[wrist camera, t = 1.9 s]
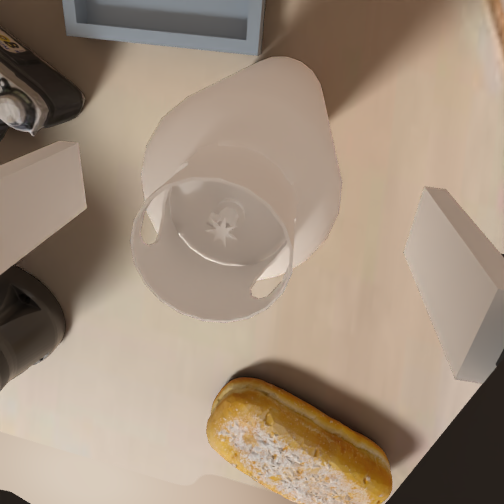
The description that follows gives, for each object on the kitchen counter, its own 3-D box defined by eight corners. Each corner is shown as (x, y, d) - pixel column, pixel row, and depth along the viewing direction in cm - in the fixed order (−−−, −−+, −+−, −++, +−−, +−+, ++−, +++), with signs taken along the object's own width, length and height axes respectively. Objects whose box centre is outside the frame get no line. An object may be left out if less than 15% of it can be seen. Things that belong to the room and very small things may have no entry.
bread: (349, 486, 61) (354, 544, 54) (197, 413, 58) (181, 465, 51) (407, 442, 55) (421, 501, 48) (240, 357, 51) (229, 407, 44)
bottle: (259, 37, 33) (120, 41, 9) (342, 85, 34) (421, 207, 10) (220, 124, 37) (48, 295, 13) (295, 165, 38) (269, 396, 14)
